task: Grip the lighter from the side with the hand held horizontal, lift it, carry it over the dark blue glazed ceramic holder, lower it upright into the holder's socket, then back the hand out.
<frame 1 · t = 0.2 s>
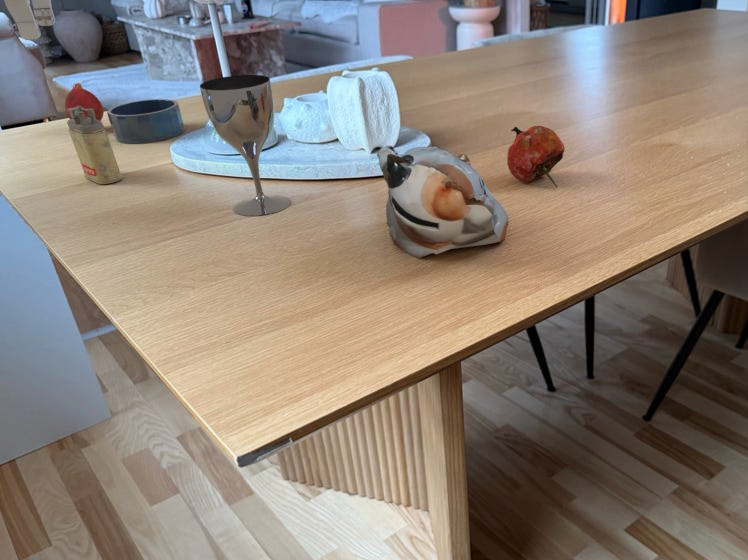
hand: (40, 31, 81), 21 cm above the table, tool pointing down, fingers open, 8 cm apart
pomegranate: (536, 182, 93), on the table
holder: (151, 134, 120), on the table
lucky cat figurine: (450, 245, 77), on the table
onion: (92, 131, 124), on the table
lighter: (105, 179, 101), on the table
wine glass: (262, 206, 90), on the table
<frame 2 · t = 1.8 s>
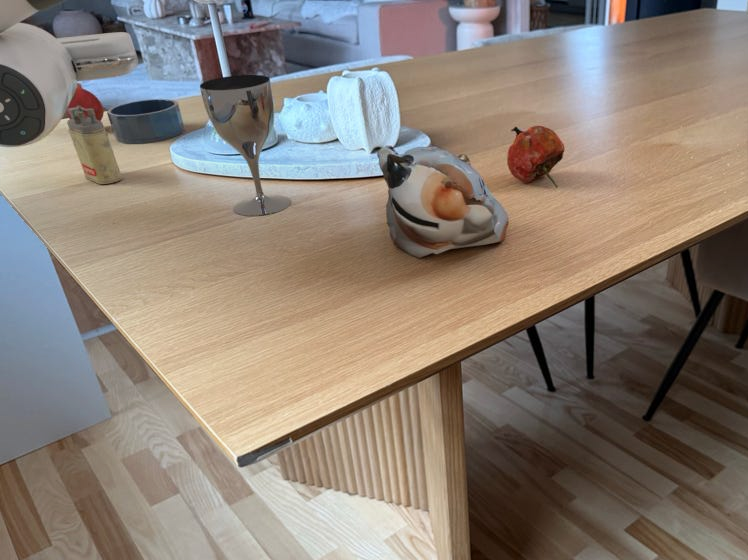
hand: (44, 51, 81), 19 cm above the table, tool horizontal, fingers open, 8 cm apart
nothing on the table moved.
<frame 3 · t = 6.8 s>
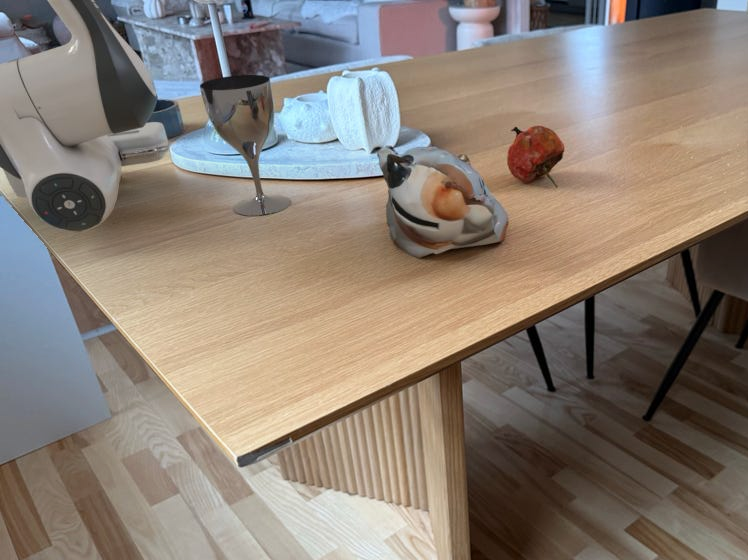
hand: (90, 134, 99), 6 cm above the table, tool horizontal, fingers closed on lighter, 4 cm apart
lighter: (107, 179, 101), on the table, touching gripper
everything else where it was.
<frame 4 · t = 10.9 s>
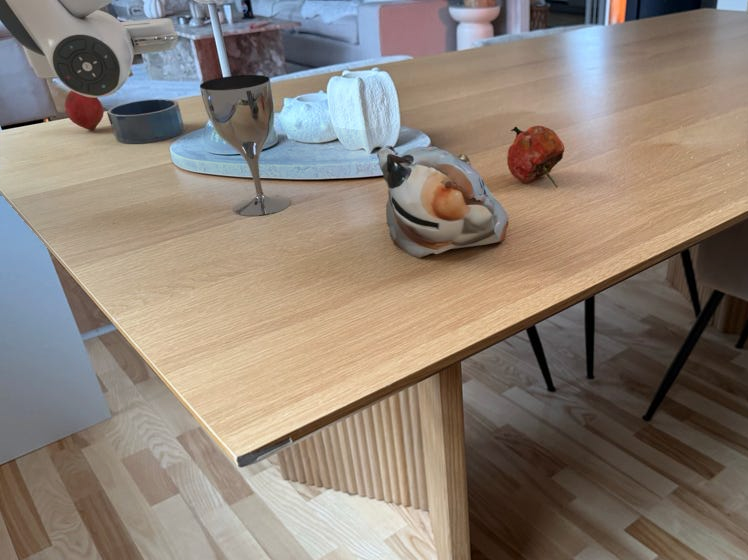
hand: (104, 32, 106), 17 cm above the table, tool horizontal, fingers closed on lighter, 4 cm apart
lighter: (119, 77, 109), point 11 cm above the table, touching gripper
everything else where it was.
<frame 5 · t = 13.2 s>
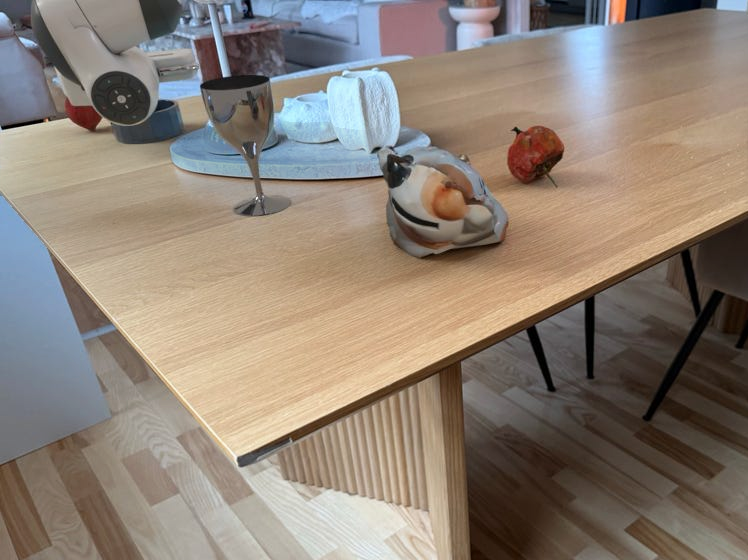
hand: (130, 61, 114), 12 cm above the table, tool horizontal, fingers closed on lighter, 4 cm apart
lighter: (143, 101, 117), point 5 cm above the table, touching gripper
everything else where it was.
when the fingers open (7 cm above the table, at t = 15.0 s): lighter stays where it is, resting on holder.
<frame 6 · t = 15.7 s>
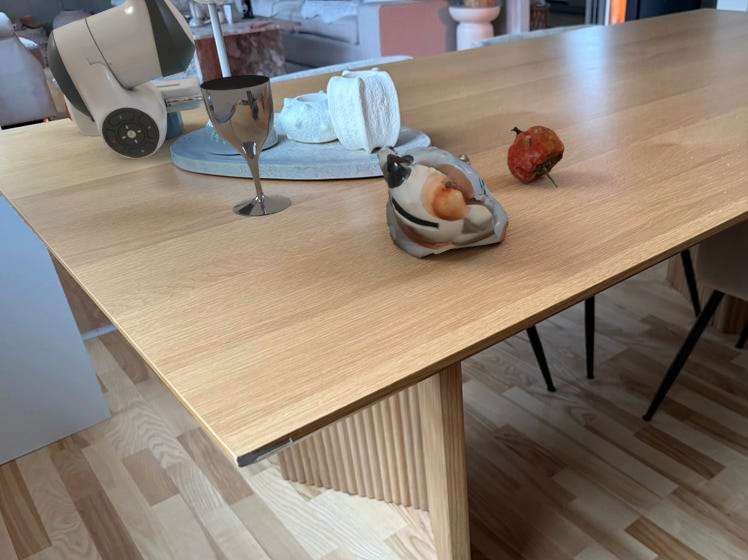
hand: (137, 89, 117), 7 cm above the table, tool horizontal, fingers open, 8 cm apart
lighter: (152, 131, 120), resting on holder
everything else where it was.
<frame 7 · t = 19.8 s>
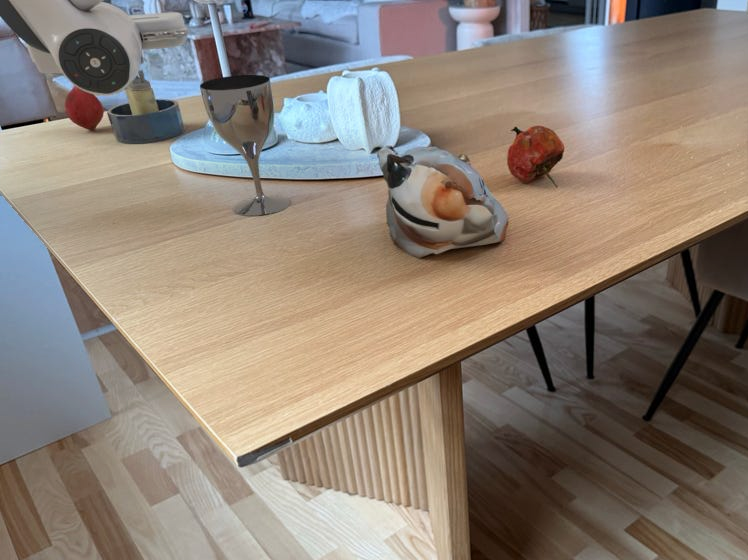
hand: (110, 26, 101), 18 cm above the table, tool horizontal, fingers open, 8 cm apart
nothing on the table moved.
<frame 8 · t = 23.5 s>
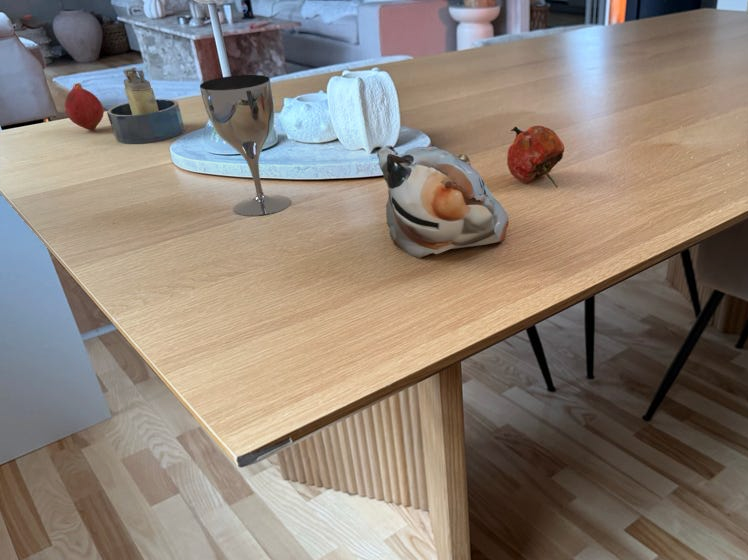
nothing on the table moved.
at the end: lighter inside the target area in the holder (0.3 cm from its centre), point 0.4 cm above the holder's base; lighter tilted 0°; the gripper is holding nothing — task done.
